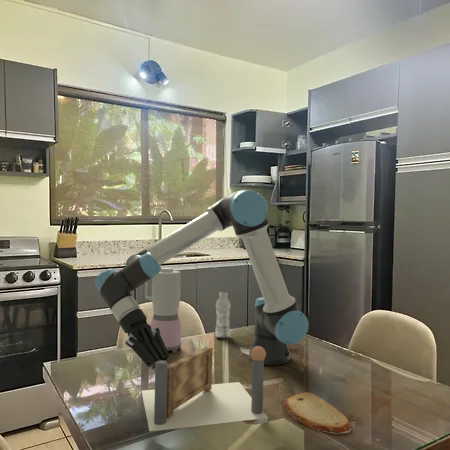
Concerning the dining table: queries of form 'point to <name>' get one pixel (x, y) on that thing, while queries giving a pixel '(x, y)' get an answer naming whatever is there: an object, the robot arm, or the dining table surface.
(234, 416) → the gate frame
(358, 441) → the dining table surface
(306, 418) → the slice of bread
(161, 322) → the blender
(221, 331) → the plastic bottle
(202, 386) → the gate
